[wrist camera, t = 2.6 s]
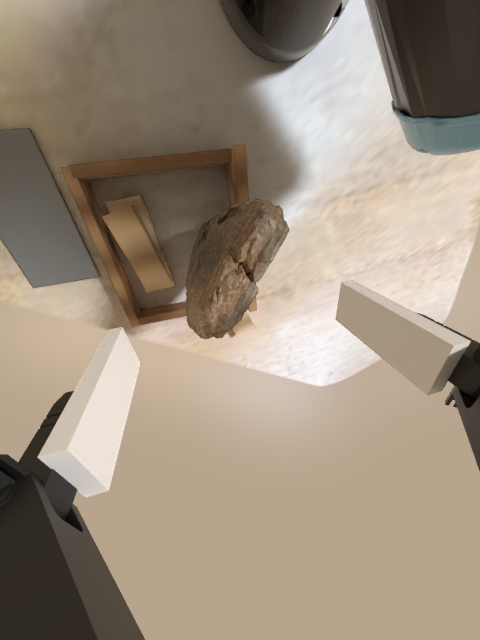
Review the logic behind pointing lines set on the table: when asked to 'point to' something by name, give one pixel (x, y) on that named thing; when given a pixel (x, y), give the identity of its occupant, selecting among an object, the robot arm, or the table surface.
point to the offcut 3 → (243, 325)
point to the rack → (126, 167)
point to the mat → (38, 216)
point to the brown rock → (231, 265)
